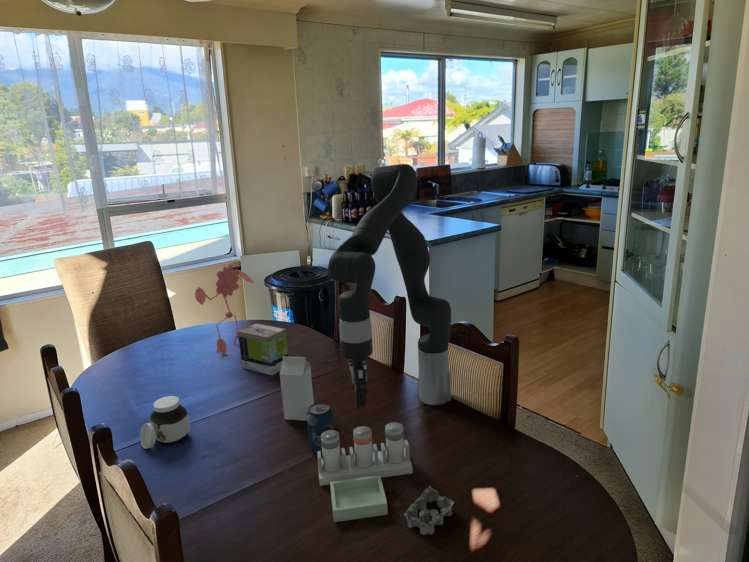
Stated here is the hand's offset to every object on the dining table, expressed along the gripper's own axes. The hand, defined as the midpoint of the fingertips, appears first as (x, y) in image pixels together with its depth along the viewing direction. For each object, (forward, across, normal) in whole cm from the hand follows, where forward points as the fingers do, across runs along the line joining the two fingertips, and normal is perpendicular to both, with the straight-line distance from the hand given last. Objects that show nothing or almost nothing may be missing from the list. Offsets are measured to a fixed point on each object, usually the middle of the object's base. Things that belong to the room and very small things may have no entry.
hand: (359, 397), depth 128 cm
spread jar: (+21, +25, +54) cm, 63 cm away
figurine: (+20, +86, +40) cm, 97 cm away
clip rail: (+20, 0, 0) cm, 20 cm away
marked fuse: (+18, 0, 0) cm, 18 cm away
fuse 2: (+18, 0, -8) cm, 20 cm away
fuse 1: (+18, 0, +8) cm, 20 cm away
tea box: (+20, +68, +28) cm, 76 cm away
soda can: (+20, +12, +10) cm, 26 cm away
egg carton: (+21, -20, -12) cm, 31 cm away
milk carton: (+20, +31, +16) cm, 40 cm away
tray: (+20, -12, +3) cm, 24 cm away
